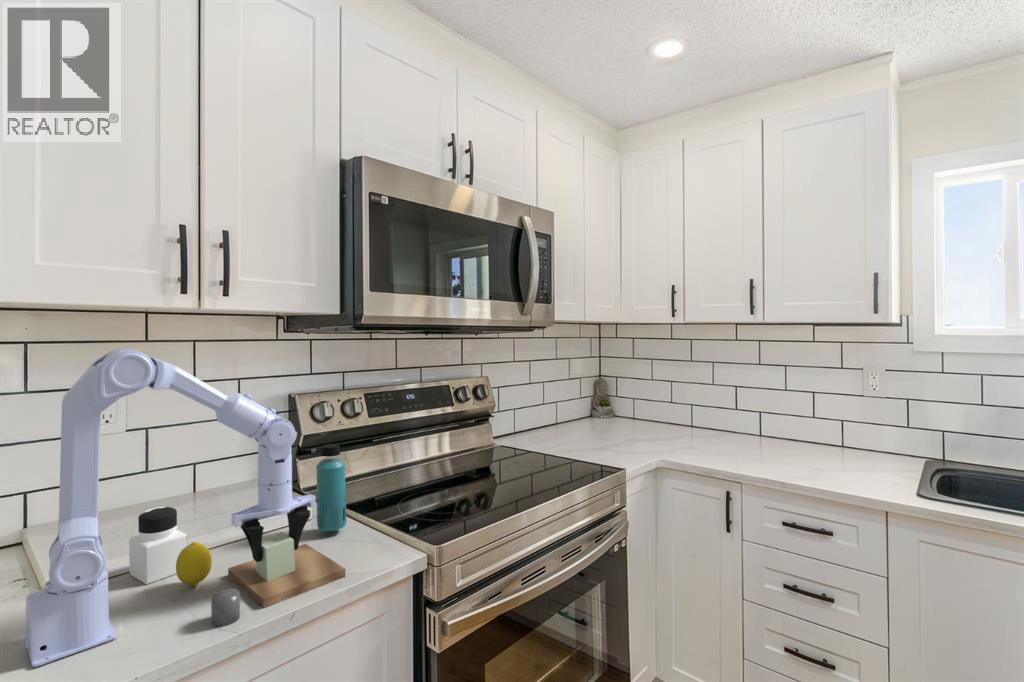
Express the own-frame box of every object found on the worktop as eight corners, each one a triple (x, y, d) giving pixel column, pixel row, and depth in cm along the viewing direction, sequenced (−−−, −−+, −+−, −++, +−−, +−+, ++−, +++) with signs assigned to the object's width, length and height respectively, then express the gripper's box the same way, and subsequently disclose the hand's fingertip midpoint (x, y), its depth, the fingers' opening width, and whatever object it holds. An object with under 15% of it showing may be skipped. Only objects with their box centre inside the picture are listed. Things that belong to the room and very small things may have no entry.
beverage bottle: (347, 535, 117) (347, 447, 117) (316, 540, 115) (315, 449, 114) (345, 525, 123) (345, 440, 123) (315, 529, 121) (315, 443, 120)
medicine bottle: (188, 570, 101) (187, 508, 100) (146, 585, 95) (144, 520, 94) (170, 560, 105) (169, 501, 104) (129, 574, 99) (127, 511, 98)
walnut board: (263, 608, 88) (263, 599, 88) (228, 576, 99) (228, 568, 98) (345, 576, 99) (345, 568, 99) (305, 550, 110) (305, 543, 109)
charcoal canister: (217, 629, 81) (216, 604, 81) (207, 620, 84) (207, 595, 84) (243, 619, 85) (243, 594, 84) (233, 610, 87) (233, 586, 87)
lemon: (195, 595, 92) (194, 550, 91) (168, 591, 93) (167, 547, 92) (219, 580, 97) (218, 537, 97) (193, 577, 98) (192, 534, 98)
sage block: (267, 581, 94) (266, 548, 93) (256, 572, 97) (254, 540, 97) (295, 570, 97) (293, 539, 97) (283, 562, 101) (281, 531, 100)
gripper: (241, 495, 88) (242, 574, 89) (323, 477, 99) (323, 548, 100) (226, 486, 93) (227, 561, 94) (305, 469, 104) (306, 537, 104)
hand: (275, 553), depth 97 cm, fingers open, 6 cm apart
